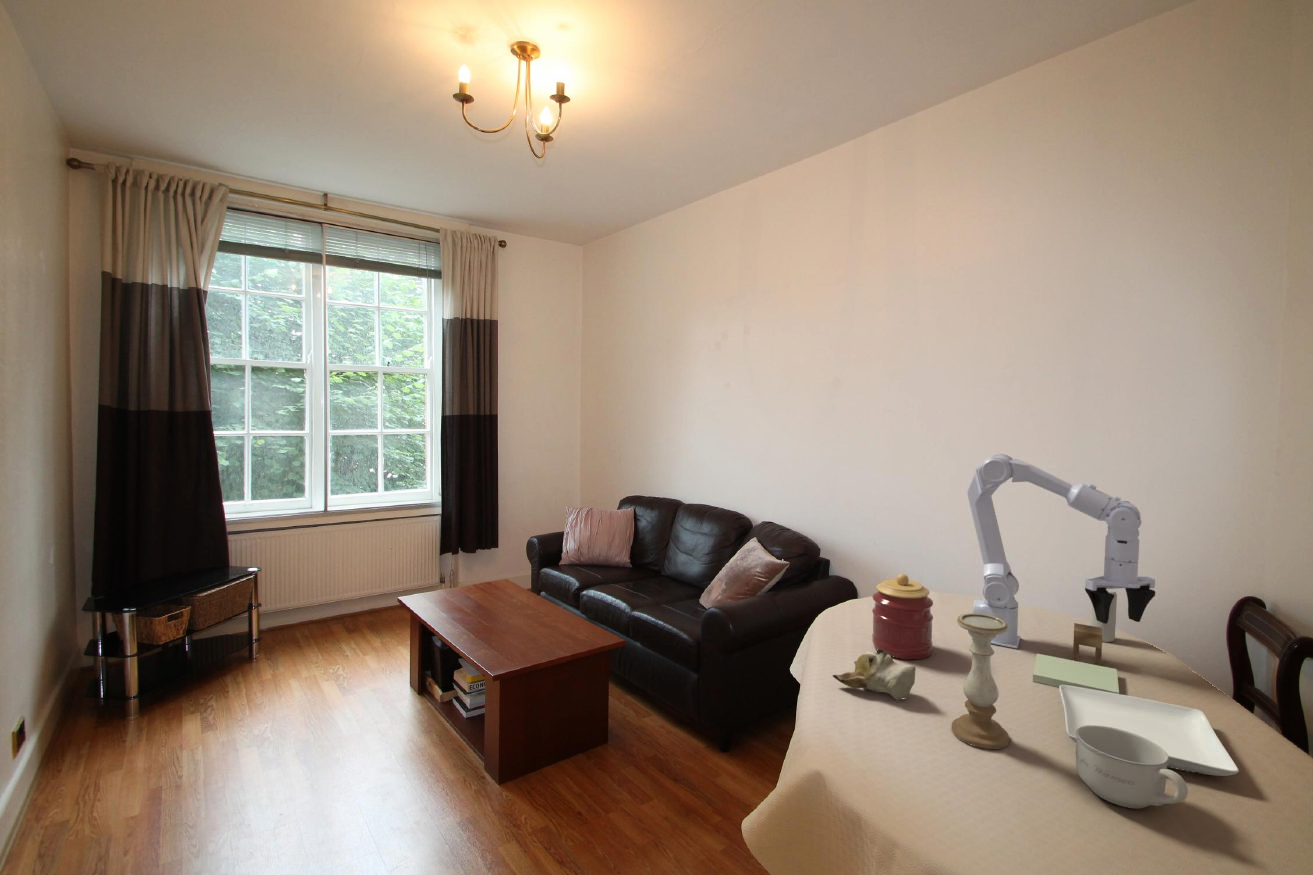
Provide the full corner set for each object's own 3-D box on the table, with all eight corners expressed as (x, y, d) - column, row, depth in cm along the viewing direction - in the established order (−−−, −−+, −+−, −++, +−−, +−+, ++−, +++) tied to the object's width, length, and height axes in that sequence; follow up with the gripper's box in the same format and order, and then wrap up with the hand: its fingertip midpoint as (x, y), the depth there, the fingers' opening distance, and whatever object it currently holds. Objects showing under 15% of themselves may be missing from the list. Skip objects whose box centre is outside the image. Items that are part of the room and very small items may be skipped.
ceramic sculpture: (902, 666, 112) (829, 648, 123) (904, 713, 112) (831, 690, 123) (926, 649, 120) (855, 633, 130) (927, 693, 120) (856, 674, 130)
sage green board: (1032, 681, 124) (1032, 674, 124) (1036, 660, 134) (1037, 653, 134) (1118, 700, 116) (1119, 692, 116) (1116, 676, 126) (1116, 669, 126)
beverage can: (1106, 635, 147) (1108, 586, 146) (1120, 643, 142) (1121, 592, 141) (1085, 634, 147) (1087, 586, 147) (1098, 642, 143) (1099, 592, 142)
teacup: (1057, 774, 94) (1058, 724, 93) (1122, 769, 95) (1124, 719, 94) (1135, 839, 80) (1137, 780, 80) (1210, 832, 81) (1213, 775, 81)
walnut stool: (1072, 661, 133) (1073, 630, 132) (1073, 653, 137) (1074, 622, 137) (1101, 666, 130) (1102, 635, 130) (1100, 658, 134) (1101, 627, 134)
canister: (936, 644, 143) (937, 571, 142) (927, 665, 132) (928, 586, 131) (878, 633, 150) (879, 563, 149) (865, 653, 139) (866, 577, 138)
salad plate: (1057, 698, 118) (1058, 680, 118) (1201, 726, 107) (1202, 707, 107) (1066, 754, 100) (1067, 734, 99) (1241, 795, 89) (1242, 772, 89)
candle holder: (987, 755, 99) (990, 634, 98) (940, 729, 107) (942, 617, 105) (1020, 741, 103) (1023, 624, 102) (972, 717, 111) (974, 608, 109)
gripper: (1105, 565, 125) (1102, 629, 126) (1169, 562, 126) (1166, 626, 127) (1078, 556, 132) (1075, 617, 133) (1139, 553, 133) (1136, 614, 134)
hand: (1118, 621), depth 131 cm, fingers open, 7 cm apart
